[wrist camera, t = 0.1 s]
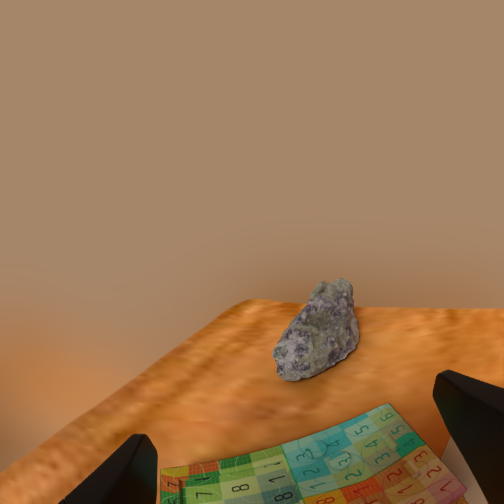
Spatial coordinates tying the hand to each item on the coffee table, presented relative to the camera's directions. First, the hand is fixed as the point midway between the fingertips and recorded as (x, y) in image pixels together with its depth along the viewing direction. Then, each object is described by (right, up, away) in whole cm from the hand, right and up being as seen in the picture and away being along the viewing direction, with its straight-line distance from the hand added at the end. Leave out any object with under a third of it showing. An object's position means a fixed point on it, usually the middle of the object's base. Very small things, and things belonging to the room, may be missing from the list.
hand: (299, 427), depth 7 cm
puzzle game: (+3, -15, +8) cm, 18 cm away
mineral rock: (+7, -9, +29) cm, 31 cm away
